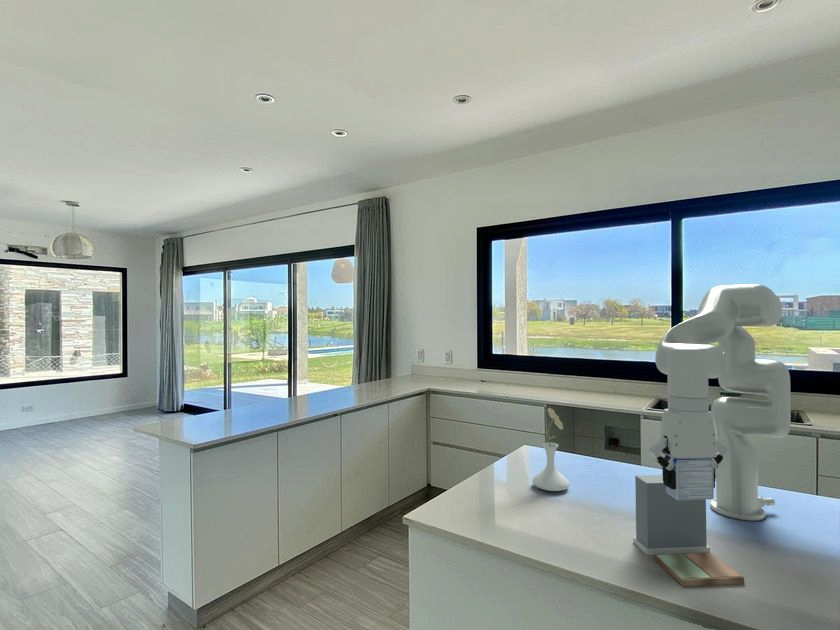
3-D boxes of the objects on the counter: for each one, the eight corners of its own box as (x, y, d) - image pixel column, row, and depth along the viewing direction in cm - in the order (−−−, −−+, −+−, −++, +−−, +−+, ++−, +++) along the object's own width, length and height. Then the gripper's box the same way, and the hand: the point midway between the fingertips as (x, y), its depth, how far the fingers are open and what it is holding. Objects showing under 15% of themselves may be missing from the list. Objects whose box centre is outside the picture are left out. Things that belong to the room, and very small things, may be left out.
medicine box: (700, 492, 98) (699, 452, 99) (714, 500, 94) (714, 458, 94) (665, 493, 98) (664, 453, 98) (677, 501, 94) (677, 459, 94)
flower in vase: (569, 496, 137) (568, 414, 137) (531, 492, 140) (530, 412, 141) (569, 481, 149) (568, 406, 150) (534, 478, 153) (533, 404, 153)
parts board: (710, 557, 102) (709, 551, 102) (744, 583, 92) (744, 577, 92) (654, 559, 101) (654, 553, 101) (682, 586, 91) (682, 579, 91)
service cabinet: (693, 539, 110) (692, 473, 110) (710, 552, 104) (709, 482, 104) (633, 542, 109) (632, 475, 109) (646, 555, 103) (645, 484, 103)
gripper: (714, 400, 101) (715, 479, 100) (638, 401, 100) (639, 481, 99) (740, 406, 93) (741, 491, 93) (659, 408, 92) (660, 494, 92)
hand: (688, 486), depth 96 cm, fingers closed on medicine box, 8 cm apart
